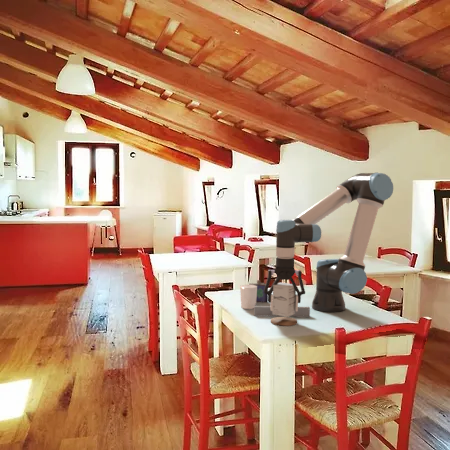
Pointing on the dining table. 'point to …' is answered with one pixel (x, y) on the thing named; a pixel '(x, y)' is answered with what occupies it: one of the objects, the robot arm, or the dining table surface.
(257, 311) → the low wall
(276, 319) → the coaster
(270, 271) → the robot arm
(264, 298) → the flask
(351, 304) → the dining table surface
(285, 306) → the supplement box
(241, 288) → the white cup
